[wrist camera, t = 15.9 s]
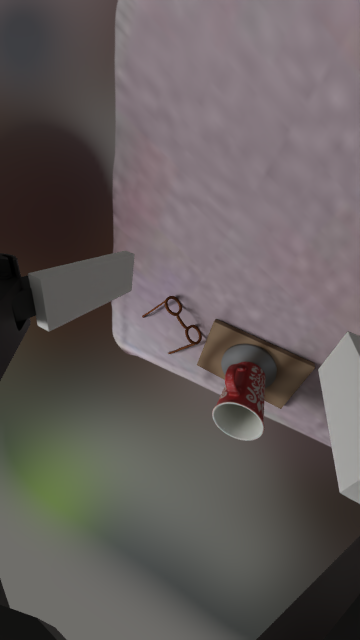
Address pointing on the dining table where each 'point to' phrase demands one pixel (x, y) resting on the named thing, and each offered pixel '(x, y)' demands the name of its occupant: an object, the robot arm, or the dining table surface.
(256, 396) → the mug
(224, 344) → the board
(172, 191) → the dining table surface
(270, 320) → the dining table surface
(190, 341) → the glasses
